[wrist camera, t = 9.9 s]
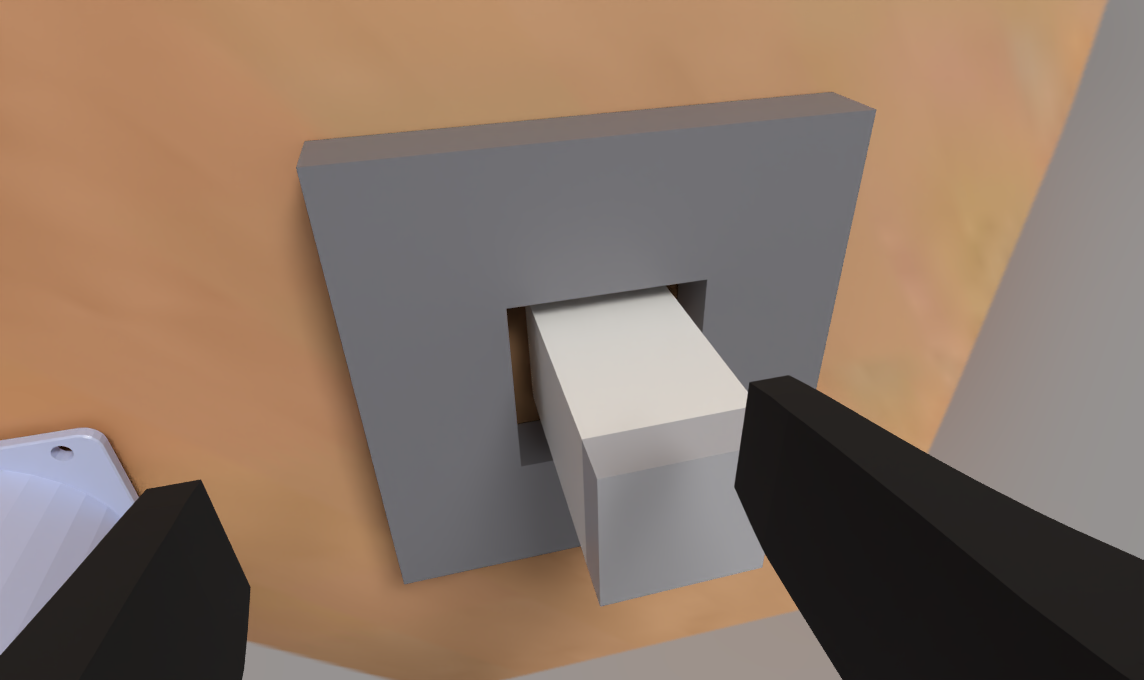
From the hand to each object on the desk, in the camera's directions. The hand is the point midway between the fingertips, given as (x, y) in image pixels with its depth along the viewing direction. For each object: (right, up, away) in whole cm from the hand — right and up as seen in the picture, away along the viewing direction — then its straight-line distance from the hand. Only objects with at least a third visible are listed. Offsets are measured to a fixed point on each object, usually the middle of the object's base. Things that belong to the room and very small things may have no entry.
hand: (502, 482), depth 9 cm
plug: (+2, +2, +12) cm, 12 cm away
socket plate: (+2, +2, +12) cm, 12 cm away
